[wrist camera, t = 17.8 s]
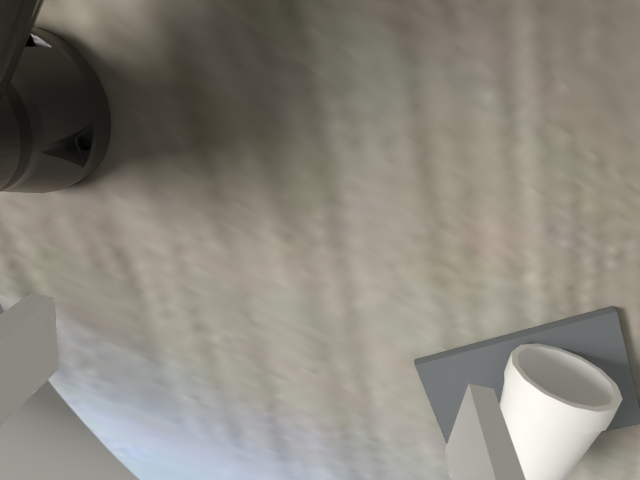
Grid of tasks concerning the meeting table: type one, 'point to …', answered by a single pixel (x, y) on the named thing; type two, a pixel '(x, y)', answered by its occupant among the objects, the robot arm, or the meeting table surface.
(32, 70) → the robot arm
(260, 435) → the meeting table surface
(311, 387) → the meeting table surface
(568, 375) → the foam cup
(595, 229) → the meeting table surface
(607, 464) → the meeting table surface
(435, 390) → the rubber mat
